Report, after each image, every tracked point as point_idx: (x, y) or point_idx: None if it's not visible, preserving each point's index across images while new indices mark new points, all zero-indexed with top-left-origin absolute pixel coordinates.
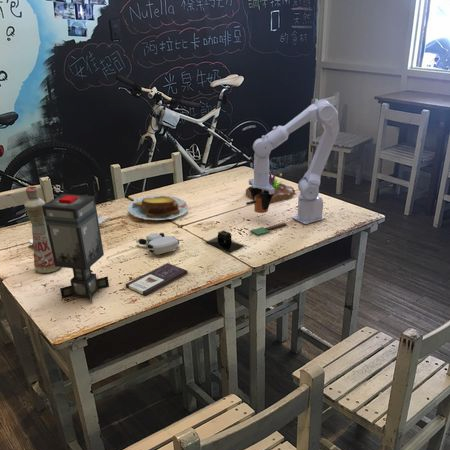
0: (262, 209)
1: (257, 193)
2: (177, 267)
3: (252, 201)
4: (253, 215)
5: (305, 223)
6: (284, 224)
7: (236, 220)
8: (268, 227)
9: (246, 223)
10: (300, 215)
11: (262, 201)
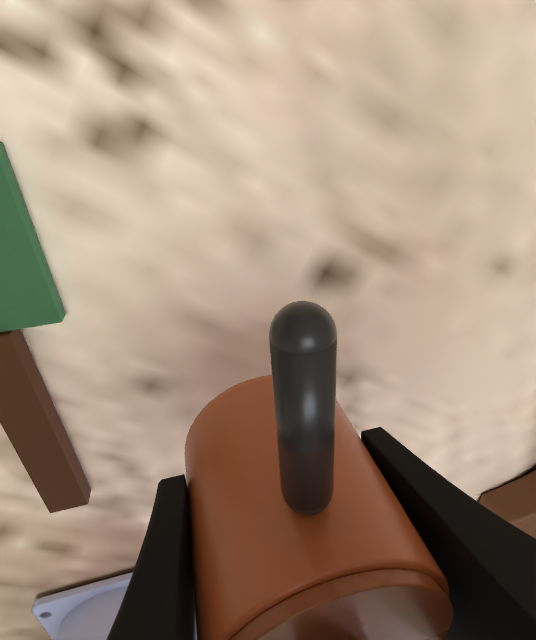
0: (189, 470)
1: (469, 632)
2: None
3: (301, 462)
4: (393, 354)
5: (32, 608)
6: (46, 501)
7: (399, 162)
8: (9, 367)
9: (272, 222)
10: (97, 636)
11: (149, 617)
